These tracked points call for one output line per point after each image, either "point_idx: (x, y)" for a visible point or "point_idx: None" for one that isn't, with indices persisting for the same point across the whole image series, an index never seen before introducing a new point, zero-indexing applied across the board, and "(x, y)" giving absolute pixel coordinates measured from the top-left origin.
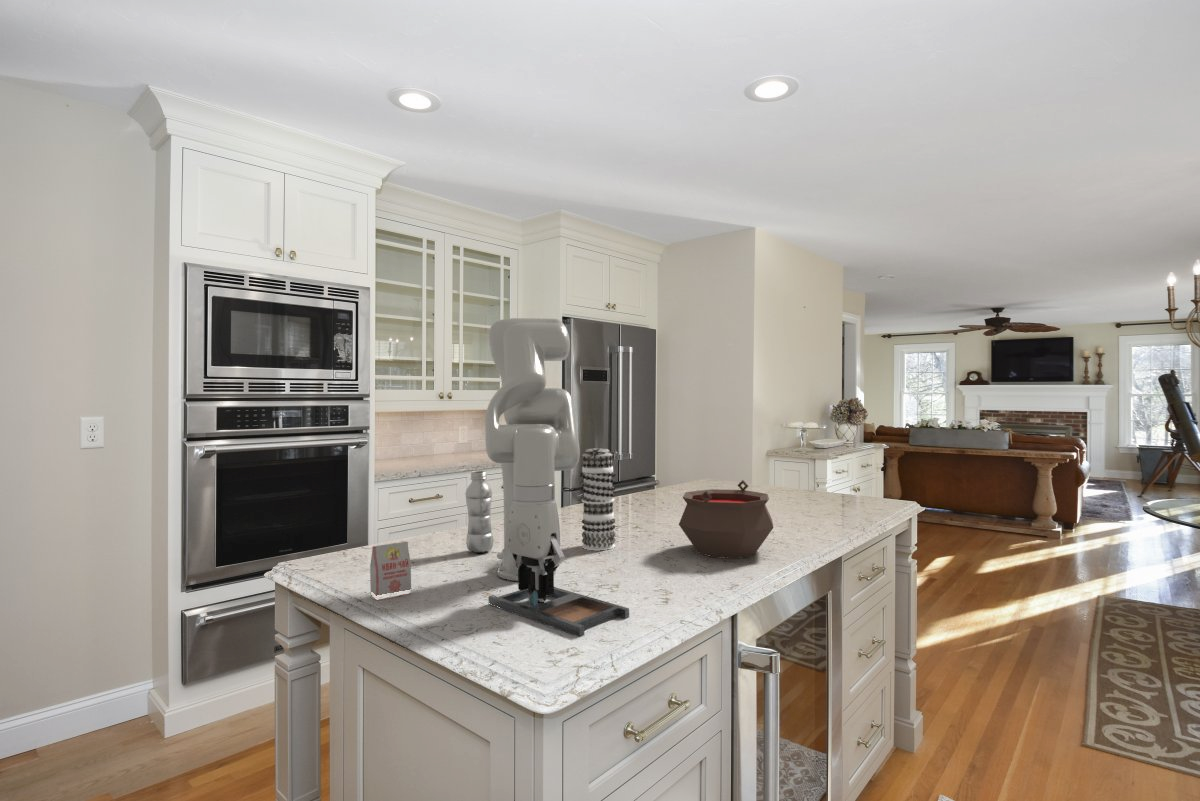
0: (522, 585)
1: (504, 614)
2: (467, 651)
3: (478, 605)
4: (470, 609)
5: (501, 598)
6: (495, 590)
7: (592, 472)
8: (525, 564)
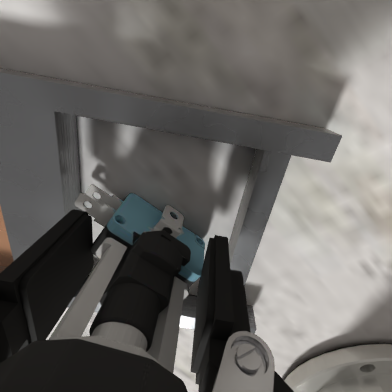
0: (208, 253)
1: (175, 62)
2: None
3: (367, 94)
4: (378, 19)
5: (258, 145)
6: (388, 265)
7: None
8: (108, 349)
